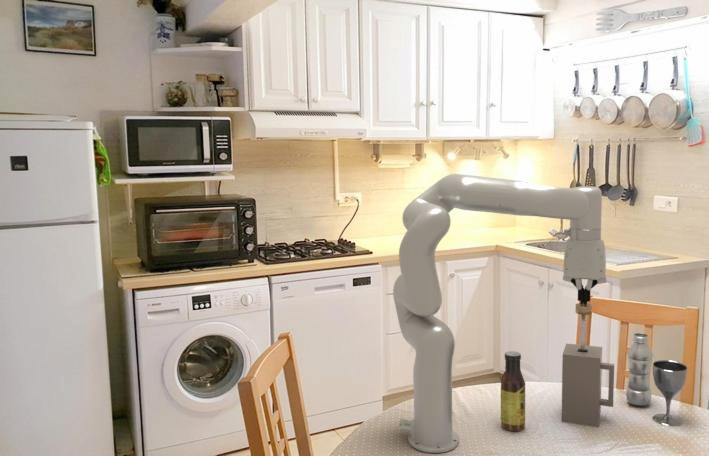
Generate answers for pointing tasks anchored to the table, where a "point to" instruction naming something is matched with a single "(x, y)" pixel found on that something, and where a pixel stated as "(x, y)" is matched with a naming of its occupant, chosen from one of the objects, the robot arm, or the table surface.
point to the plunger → (583, 321)
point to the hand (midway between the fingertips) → (583, 303)
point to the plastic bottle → (639, 371)
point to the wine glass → (669, 387)
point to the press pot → (584, 385)
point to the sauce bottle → (512, 394)
